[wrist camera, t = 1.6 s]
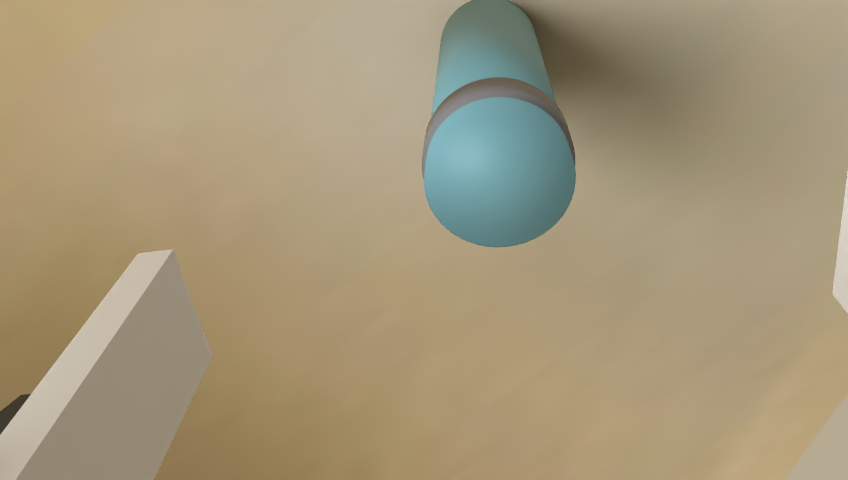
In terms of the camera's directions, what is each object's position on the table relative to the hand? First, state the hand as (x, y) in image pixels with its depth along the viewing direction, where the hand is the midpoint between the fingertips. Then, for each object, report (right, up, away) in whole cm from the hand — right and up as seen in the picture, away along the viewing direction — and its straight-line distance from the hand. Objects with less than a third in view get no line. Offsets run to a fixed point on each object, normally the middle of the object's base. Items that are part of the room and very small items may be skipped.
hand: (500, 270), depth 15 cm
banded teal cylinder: (+1, +8, +13) cm, 16 cm away
